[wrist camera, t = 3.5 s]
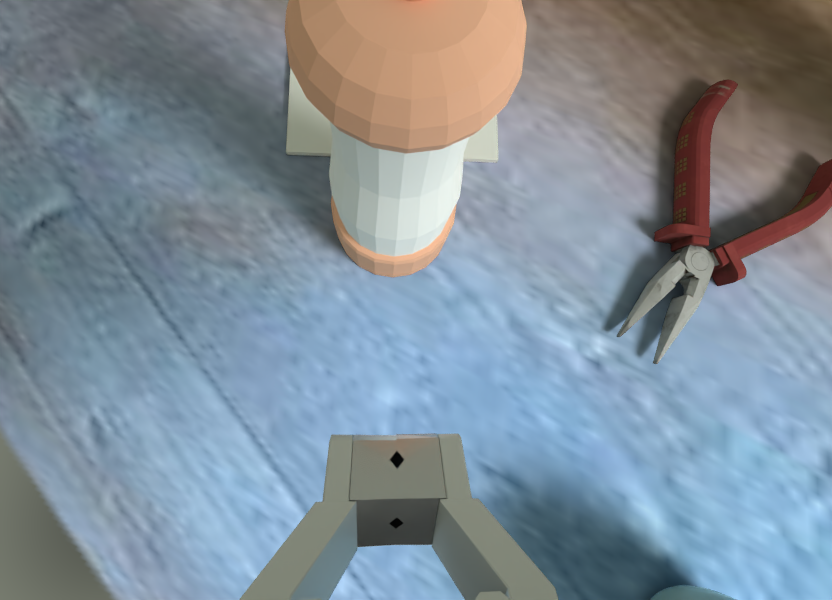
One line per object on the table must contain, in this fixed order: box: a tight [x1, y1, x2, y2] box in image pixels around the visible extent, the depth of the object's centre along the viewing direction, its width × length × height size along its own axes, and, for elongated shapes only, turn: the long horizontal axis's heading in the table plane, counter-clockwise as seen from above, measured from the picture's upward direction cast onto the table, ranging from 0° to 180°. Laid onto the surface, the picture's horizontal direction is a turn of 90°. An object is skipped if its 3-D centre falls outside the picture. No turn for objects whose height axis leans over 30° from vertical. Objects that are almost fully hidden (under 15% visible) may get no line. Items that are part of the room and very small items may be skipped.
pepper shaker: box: [285, 0, 527, 277], centre depth 20 cm, size 7×7×19 cm
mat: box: [286, 68, 498, 163], centre depth 32 cm, size 20×14×1 cm
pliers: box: [617, 80, 832, 364], centre depth 30 cm, size 12×20×3 cm, turn 143°
